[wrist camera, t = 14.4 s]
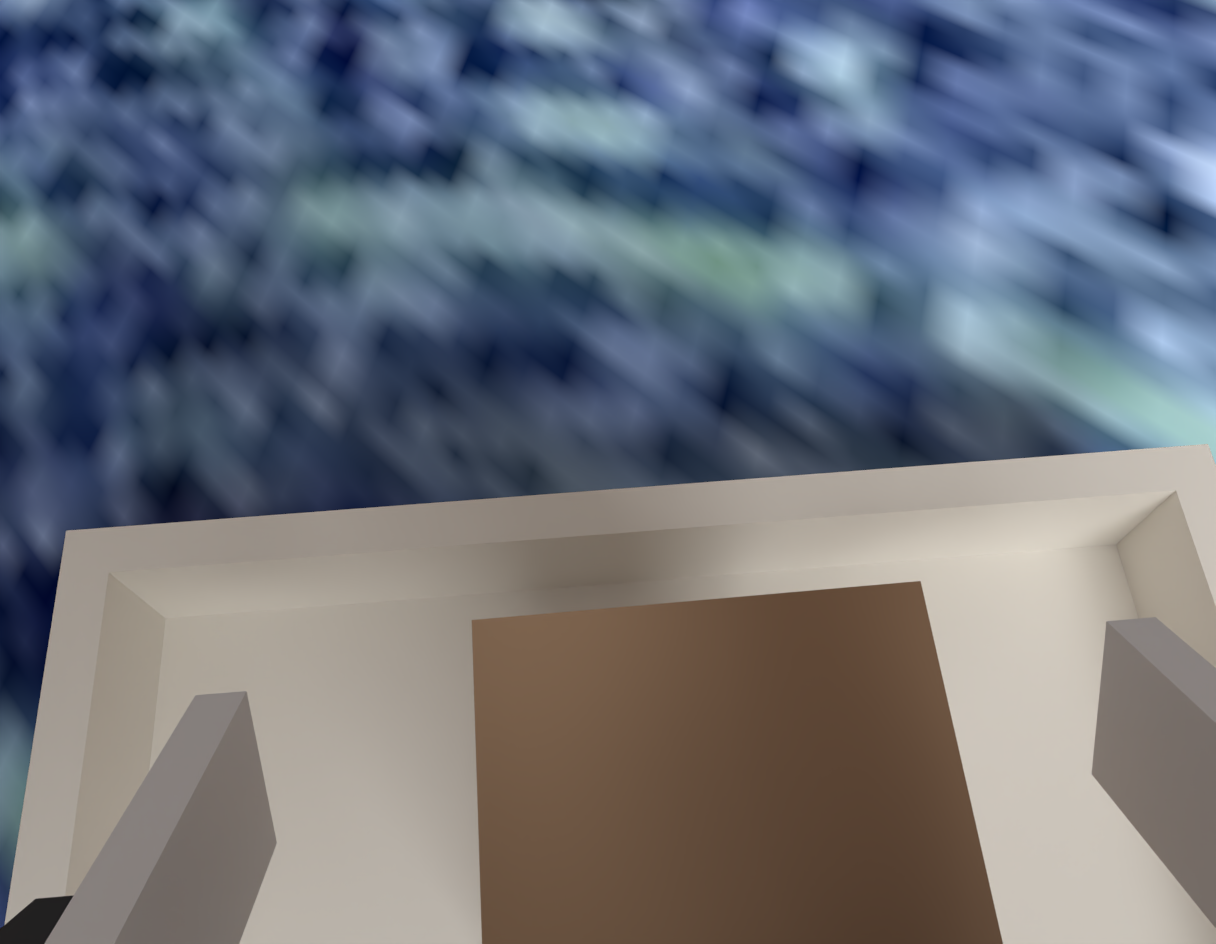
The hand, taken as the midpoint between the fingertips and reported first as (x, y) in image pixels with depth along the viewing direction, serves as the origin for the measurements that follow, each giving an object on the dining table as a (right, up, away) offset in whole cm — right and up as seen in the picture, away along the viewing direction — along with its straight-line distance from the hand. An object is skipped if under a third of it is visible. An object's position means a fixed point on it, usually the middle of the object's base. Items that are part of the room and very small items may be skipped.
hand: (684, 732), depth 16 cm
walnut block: (0, -5, +5) cm, 7 cm away
